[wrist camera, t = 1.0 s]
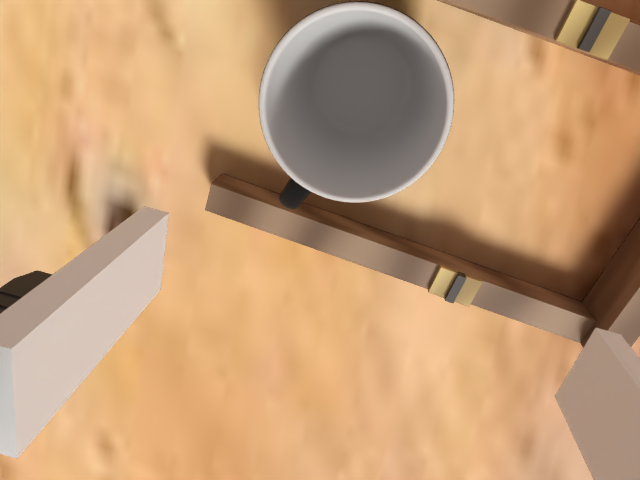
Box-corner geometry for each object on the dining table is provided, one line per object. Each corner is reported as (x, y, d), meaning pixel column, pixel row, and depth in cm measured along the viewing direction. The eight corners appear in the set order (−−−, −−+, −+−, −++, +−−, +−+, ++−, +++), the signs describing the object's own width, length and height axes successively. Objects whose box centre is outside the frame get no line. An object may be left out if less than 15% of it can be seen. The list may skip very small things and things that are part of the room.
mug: (344, -23, 28) (326, -48, 19) (463, 66, 29) (499, 83, 20) (247, 141, 33) (195, 184, 24) (352, 212, 34) (341, 279, 25)
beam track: (216, 198, 35) (197, 218, 31) (290, -98, 27) (275, -118, 23) (592, 332, 36) (615, 366, 32) (772, 81, 28) (831, 89, 24)
